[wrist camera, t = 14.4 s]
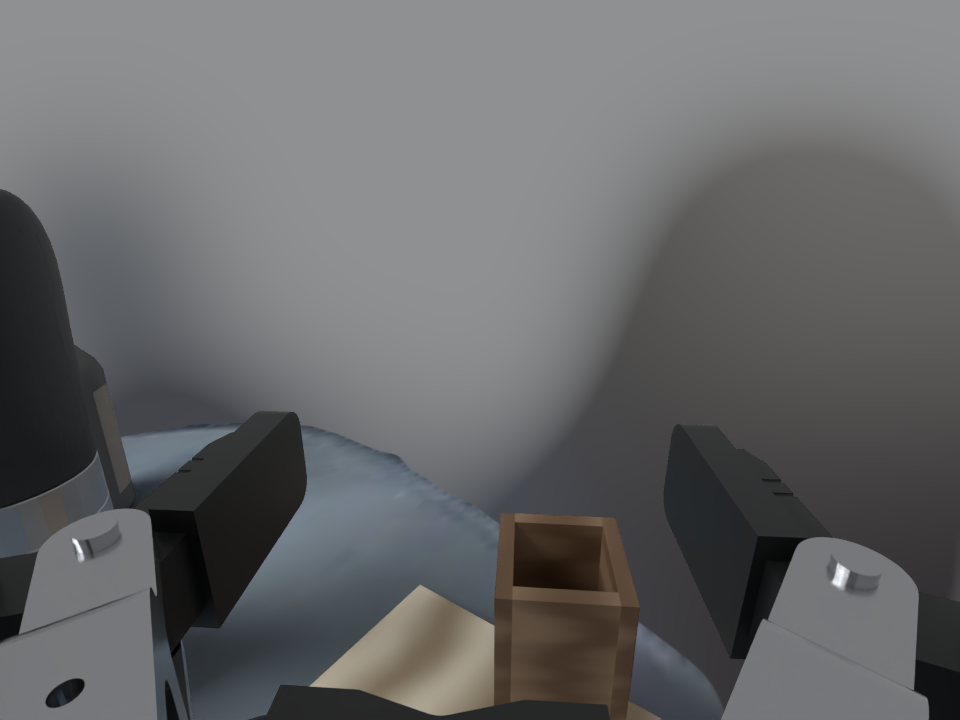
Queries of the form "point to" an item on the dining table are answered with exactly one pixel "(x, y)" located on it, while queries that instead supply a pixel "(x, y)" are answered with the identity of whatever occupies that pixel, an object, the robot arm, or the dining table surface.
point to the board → (427, 659)
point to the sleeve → (563, 612)
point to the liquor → (106, 431)
